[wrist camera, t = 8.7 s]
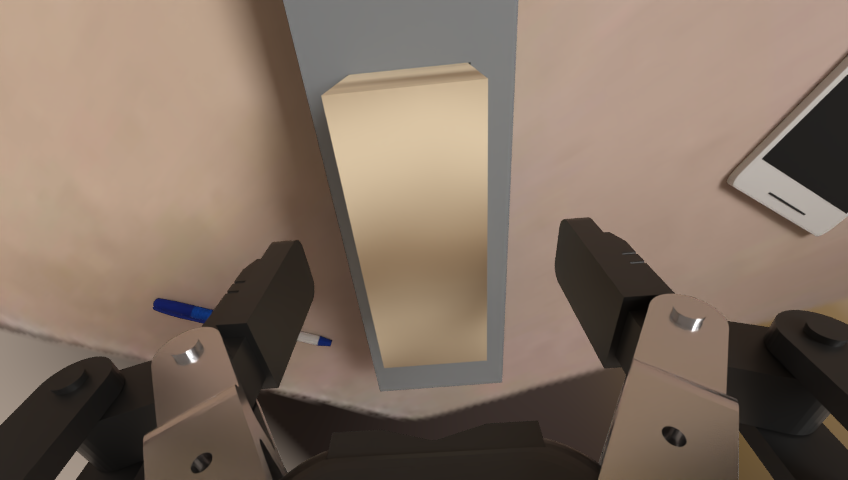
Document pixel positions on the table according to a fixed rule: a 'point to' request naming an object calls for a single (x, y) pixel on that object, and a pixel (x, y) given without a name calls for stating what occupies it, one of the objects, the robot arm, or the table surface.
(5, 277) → the table surface
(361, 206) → the tan rectangular block
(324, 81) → the slotted rail
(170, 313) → the ballpoint pen
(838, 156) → the smartphone
